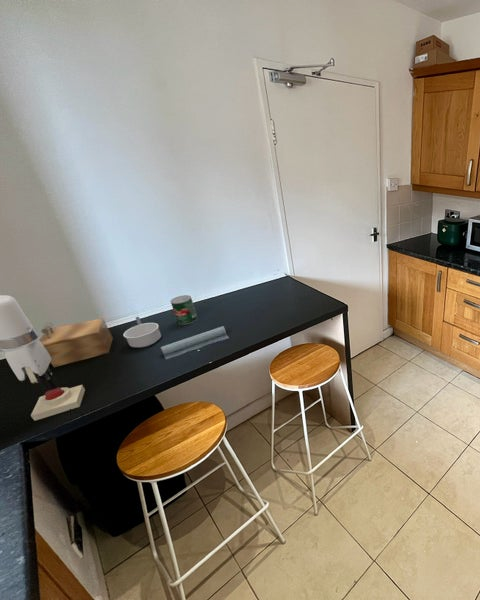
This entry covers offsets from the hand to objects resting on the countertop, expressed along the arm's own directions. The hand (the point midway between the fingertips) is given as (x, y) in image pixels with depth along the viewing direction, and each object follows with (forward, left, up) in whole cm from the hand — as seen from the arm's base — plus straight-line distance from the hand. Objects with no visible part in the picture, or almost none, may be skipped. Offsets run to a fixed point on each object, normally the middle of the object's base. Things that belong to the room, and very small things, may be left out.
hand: (51, 388), depth 95 cm
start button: (0, 0, -3) cm, 3 cm away
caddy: (+1, +33, -7) cm, 33 cm away
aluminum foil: (+38, +13, -7) cm, 41 cm away
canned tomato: (+36, +38, -7) cm, 53 cm away
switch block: (0, 0, -7) cm, 7 cm away
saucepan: (+20, +32, -7) cm, 38 cm away
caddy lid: (0, +33, +3) cm, 33 cm away
